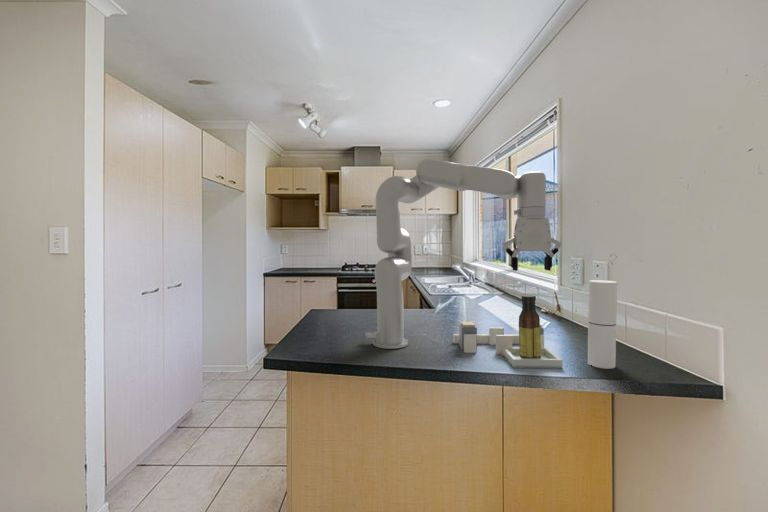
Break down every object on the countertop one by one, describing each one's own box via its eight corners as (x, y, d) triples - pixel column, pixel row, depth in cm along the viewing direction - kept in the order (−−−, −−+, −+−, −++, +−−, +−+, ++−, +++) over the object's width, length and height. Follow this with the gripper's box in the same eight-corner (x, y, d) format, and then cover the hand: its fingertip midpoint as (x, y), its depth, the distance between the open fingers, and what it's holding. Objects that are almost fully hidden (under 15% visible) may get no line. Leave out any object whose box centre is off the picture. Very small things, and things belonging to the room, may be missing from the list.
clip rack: (459, 355, 119) (459, 328, 118) (453, 342, 134) (453, 318, 134) (553, 356, 117) (554, 329, 116) (536, 342, 132) (536, 318, 132)
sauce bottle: (537, 356, 115) (537, 293, 114) (544, 363, 109) (544, 297, 108) (516, 355, 116) (516, 293, 115) (521, 362, 109) (521, 296, 109)
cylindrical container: (584, 364, 109) (585, 281, 108) (591, 358, 114) (593, 279, 113) (611, 370, 104) (613, 283, 103) (618, 364, 109) (619, 281, 108)
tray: (513, 367, 106) (513, 359, 106) (502, 355, 118) (502, 347, 118) (562, 368, 106) (562, 360, 106) (546, 355, 118) (546, 347, 118)
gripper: (506, 213, 107) (505, 271, 108) (566, 212, 106) (565, 271, 107) (499, 215, 114) (499, 269, 115) (556, 214, 113) (555, 269, 114)
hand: (531, 270), depth 111 cm, fingers open, 9 cm apart
